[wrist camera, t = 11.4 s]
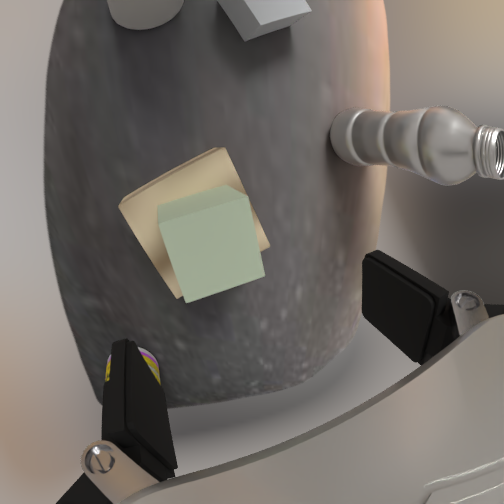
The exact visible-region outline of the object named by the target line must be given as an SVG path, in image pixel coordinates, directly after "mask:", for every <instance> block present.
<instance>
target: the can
mask: <svg viewBox="0 0 504 504" xmlns="http://www.w3.org/2000/svg"><path fill="white" fill-rule="evenodd" d="M107 3H108V6H109V9H110V13H111V16H112V18H113V19H114V20H115V21H116V23H117V24H119V25H121V26H123V27H125V28H128V29H135V30H143V29H151V28H154V27H157V26H160V25H163V24H164V23H166V22H167V21H169V20H171V19H172V18H173V17H174V16H175V15H176V14H177V13H178V12H179V11H180V9H181V7H182V5H183V3H184V0H107Z"/></svg>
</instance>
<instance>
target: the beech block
mask: <svg viewBox="0 0 504 504" xmlns="http://www.w3.org/2000/svg"><path fill="white" fill-rule="evenodd" d="M223 185H228V186H230V187H232V188H234V189H235V190H237V191H239V192H241V193H243V194H245V195H246V196H247V194H246V191H245V189H244V187H243V185H242V183H241V181H240V178H239V176H238V174H237V172H236V170H235V168H234V165H233V163H232V161H231V159H230V157H229V155H228V153H227V151H226V148H212V149H210V150H208V151H206V152H204V153H202V154H200V155H198V156H196V157H194V158H193V159H191V160H189V161H187V162H185V163H183V164H181V165H179V166H177V167H175V168H174V169H172V170H170V171H168V172H166V173H165V174H163V175H161V176H159V177H157V178H156V179H154V180H152V181H150V182H149V183H147V184H145V185H143V186H142V187H140V188H138V189H137V190H135V191H133V192H132V193H130V194H128V195H127V196H125V197H124V198H123V200H122V201H121V203H120V204H119V206H118V207H119V209H120V211H121V212H122V214H123V216H124V217H125V219H126V221H127V222H128V224H129V226H130V227H131V229H132V231H133V232H134V234H135V236H136V237H137V239H138V241H139V242H140V244H141V245H142V247H143V249H144V250H145V252H146V253H147V255H148V257H149V258H150V260H151V261H152V263H153V264H154V266H155V267H156V269H157V270H158V272H159V273H160V275H161V276H162V278H163V279H164V281H165V282H166V284H167V285H168V287H169V288H170V290H171V291H172V293H173V294H174V296H175V297H176V299H178V298H180V297H181V296H183V294H182V291H181V289H180V286H179V283H178V280H177V278H176V275H175V272H174V269H173V267H172V264H171V261H170V258H169V255H168V252H167V249H166V246H165V243H164V240H163V237H162V234H161V231H160V228H159V225H158V207H157V205H160V204H164V203H167V202H170V201H173V200H176V199H179V198H183V197H186V196H189V195H192V194H196V193H199V192H202V191H206V190H209V189H213V188H216V187H220V186H223ZM249 202H250V200H249ZM250 207H251V212H252V216H253V221H254V226H255V230H256V235H257V240H258V244H259V249H260V252H261V251H263V250H265V249H267V248H268V247H270V244H269V242H268V240H267V238H266V235H265V233H264V231H263V229H262V226H261V224H260V222H259V220H258V218H257V215H256V213H255V211H254V209H253V207H252V204H251V202H250Z"/></svg>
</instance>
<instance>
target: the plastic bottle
mask: <svg viewBox="0 0 504 504" xmlns="http://www.w3.org/2000/svg"><path fill="white" fill-rule="evenodd" d="M330 139H331V143H332V147H333V149H334V151H335V153H336V154H337V155H338V156H339V157H340V158H341V159H342V160H344V161H345V162H347V163H350V164H352V165H355V166H371V165H385V166H394V167H397V168H401V169H404V170H408V171H412V172H414V173H416V174H419V175H421V176H423V177H425V178H428V179H430V180H432V181H434V182H437V183H439V184H442V185H456V184H459V183H461V182H463V181H465V180H467V179H468V178H470V177H471V176H472V175H474V174H475V173H476V172H477V173H478V175H479V176H481V177H484V178H489V177H491V178H494V179H498V180H503V179H504V129H501V128H496V127H490V126H488V125H480V126H479V127H478V128H477V127H476V126H475V125H474V124H473V123H472V122H471V121H470V120H469V119H468V118H467V117H466V116H465V115H463V114H462V113H461V112H459V111H458V110H456V109H453V108H451V107H448V106H433V107H427V108H421V109H416V110H408V111H395V112H388V111H376V110H371V109H367V108H359V107H353V108H350V109H347V110H345V111H342V112H341V113H339V114H338V115H337V116H336V118H335V119H334V121H333V123H332V126H331V130H330Z"/></svg>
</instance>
